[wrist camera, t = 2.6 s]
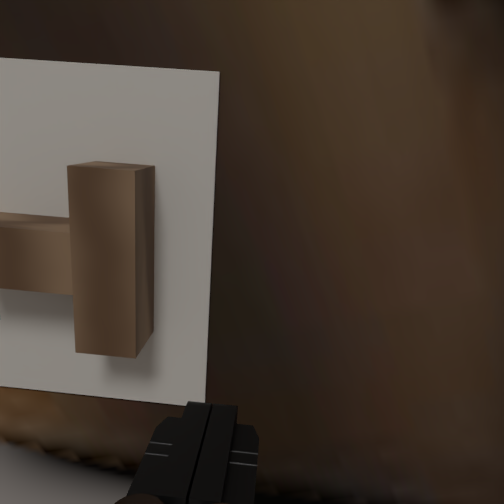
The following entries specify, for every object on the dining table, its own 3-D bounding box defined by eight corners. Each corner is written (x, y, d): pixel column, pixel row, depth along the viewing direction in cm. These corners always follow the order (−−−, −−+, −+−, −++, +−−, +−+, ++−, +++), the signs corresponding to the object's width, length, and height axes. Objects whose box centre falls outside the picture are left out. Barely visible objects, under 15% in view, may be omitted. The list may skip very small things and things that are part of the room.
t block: (154, 165, 29) (134, 170, 25) (153, 331, 32) (135, 358, 28) (-21, 152, 29) (-67, 155, 26) (-4, 316, 33) (-43, 340, 29)
